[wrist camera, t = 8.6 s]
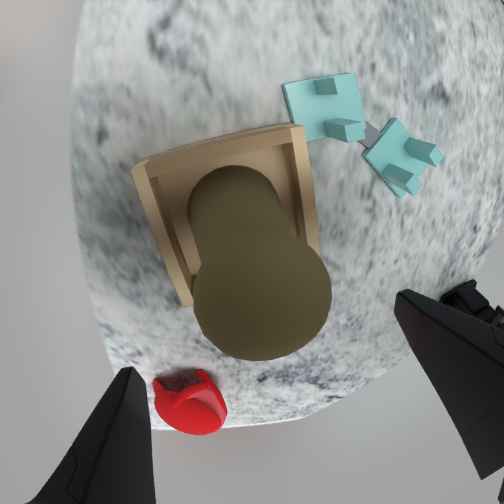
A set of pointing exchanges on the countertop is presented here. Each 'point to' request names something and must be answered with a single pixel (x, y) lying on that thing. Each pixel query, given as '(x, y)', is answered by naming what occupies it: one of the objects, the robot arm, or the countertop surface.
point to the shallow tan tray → (206, 160)
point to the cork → (253, 269)
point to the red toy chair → (192, 406)
